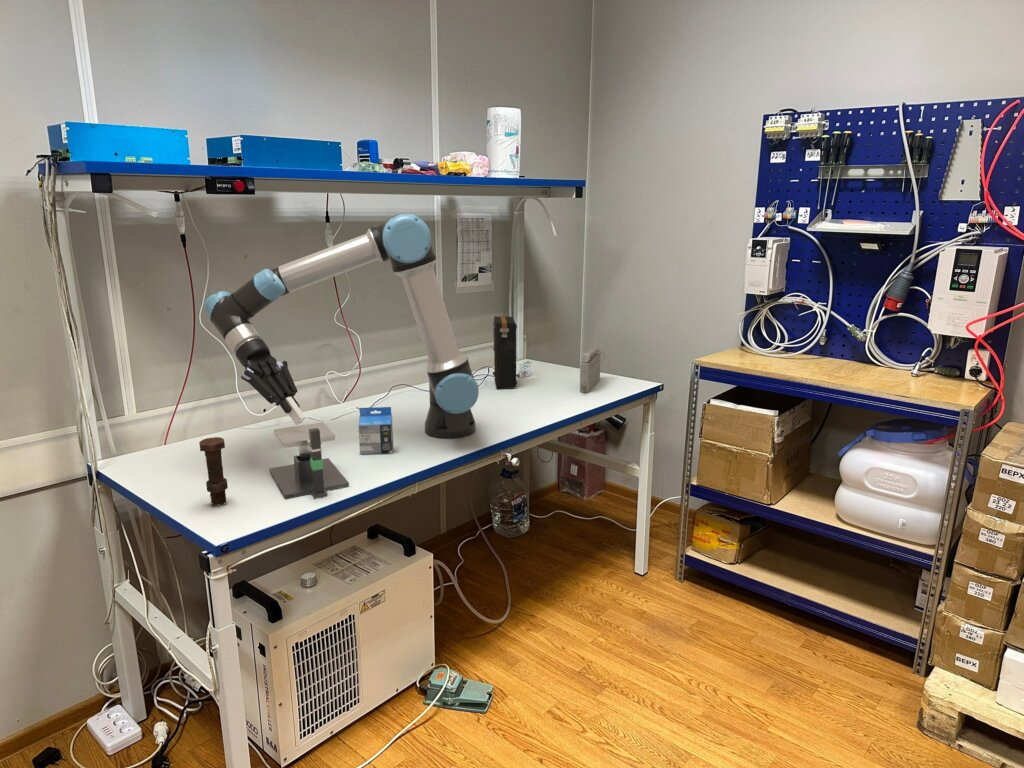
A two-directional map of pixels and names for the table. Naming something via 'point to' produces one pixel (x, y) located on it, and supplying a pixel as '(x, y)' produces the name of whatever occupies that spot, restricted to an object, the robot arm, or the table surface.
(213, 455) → the bolt
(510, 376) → the black case
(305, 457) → the pan
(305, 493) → the stand
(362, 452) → the label tape box
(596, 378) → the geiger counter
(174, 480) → the table surface
